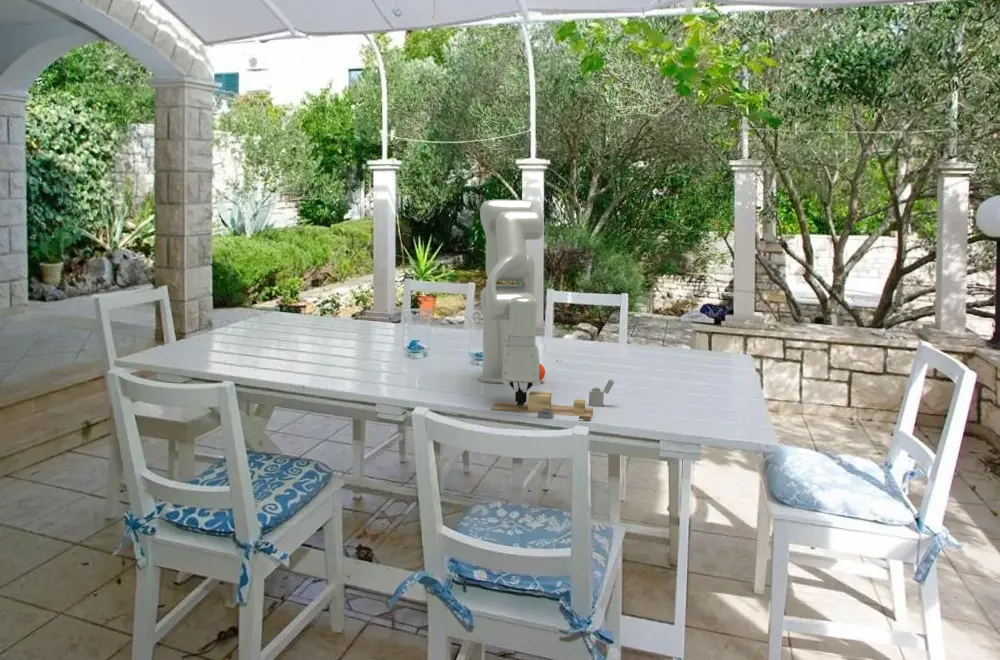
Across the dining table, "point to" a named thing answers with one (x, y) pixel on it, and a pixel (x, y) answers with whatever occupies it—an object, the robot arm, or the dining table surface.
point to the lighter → (599, 394)
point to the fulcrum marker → (545, 414)
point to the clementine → (541, 372)
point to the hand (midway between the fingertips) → (520, 404)
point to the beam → (574, 410)
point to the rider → (539, 400)
